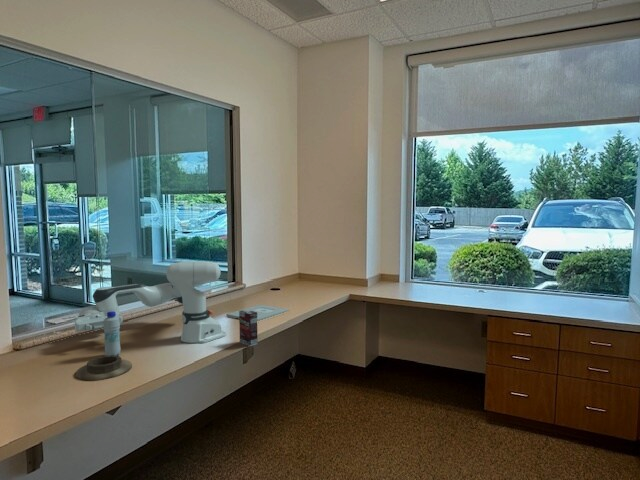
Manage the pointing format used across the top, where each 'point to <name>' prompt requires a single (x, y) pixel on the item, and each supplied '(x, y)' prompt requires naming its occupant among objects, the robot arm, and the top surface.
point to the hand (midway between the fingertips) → (103, 326)
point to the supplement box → (248, 327)
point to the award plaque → (260, 312)
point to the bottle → (112, 334)
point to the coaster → (103, 376)
